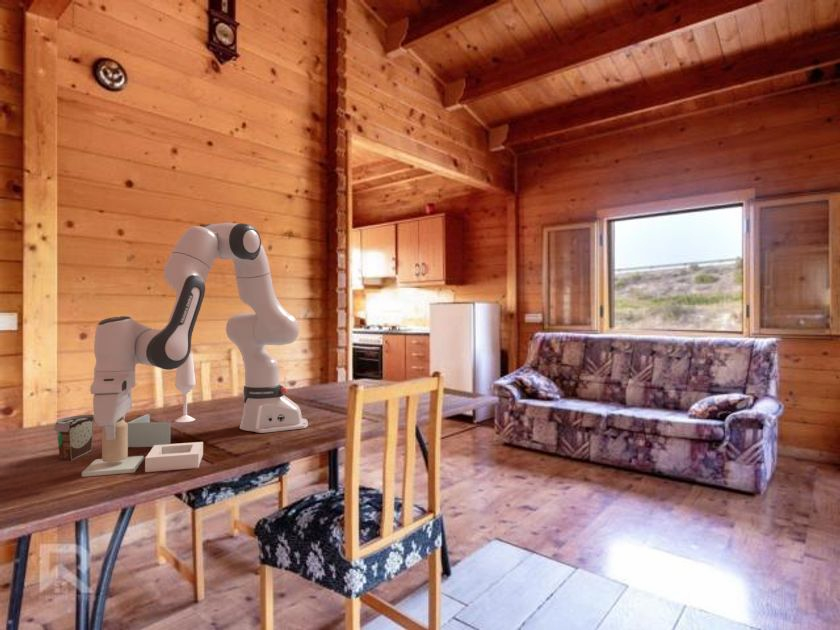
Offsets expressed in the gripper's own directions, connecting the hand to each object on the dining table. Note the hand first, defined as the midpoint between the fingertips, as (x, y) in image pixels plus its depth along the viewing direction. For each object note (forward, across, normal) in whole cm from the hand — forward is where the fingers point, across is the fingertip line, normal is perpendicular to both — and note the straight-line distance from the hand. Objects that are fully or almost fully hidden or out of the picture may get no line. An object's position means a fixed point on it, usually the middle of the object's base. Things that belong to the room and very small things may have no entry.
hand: (115, 435), depth 125 cm
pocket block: (+8, 0, +14) cm, 16 cm away
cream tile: (+8, 0, 0) cm, 8 cm away
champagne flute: (+8, -53, +10) cm, 54 cm away
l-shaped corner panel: (+9, -24, +6) cm, 26 cm away
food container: (+8, -15, -14) cm, 22 cm away
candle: (+6, 0, 0) cm, 6 cm away
